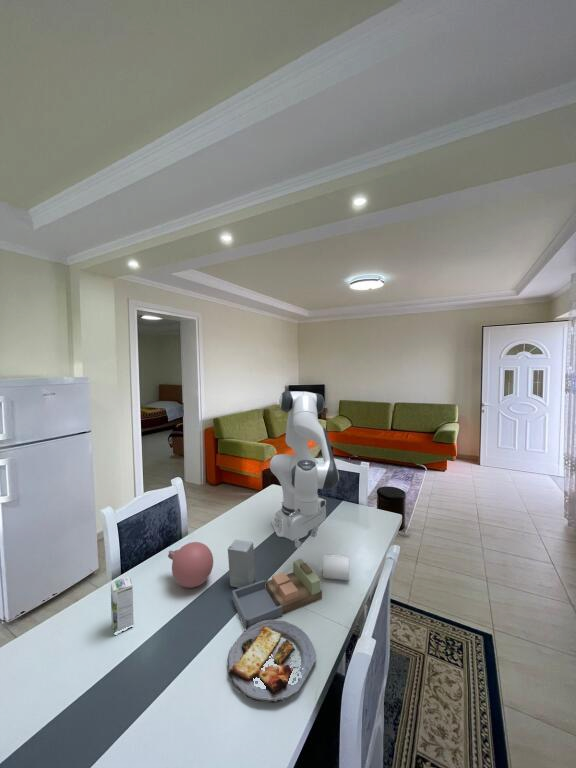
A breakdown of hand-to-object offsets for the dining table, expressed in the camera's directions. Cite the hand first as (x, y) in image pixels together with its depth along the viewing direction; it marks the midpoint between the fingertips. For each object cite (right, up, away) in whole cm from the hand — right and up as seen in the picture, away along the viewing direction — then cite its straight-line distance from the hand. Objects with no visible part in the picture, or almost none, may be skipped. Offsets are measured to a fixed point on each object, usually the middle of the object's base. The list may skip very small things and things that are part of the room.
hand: (306, 541), depth 118 cm
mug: (+13, -18, +10) cm, 25 cm away
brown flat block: (-5, -19, -1) cm, 20 cm away
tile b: (-7, -16, -6) cm, 18 cm away
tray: (-18, -19, -8) cm, 28 cm away
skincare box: (-25, -19, +4) cm, 31 cm away
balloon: (-46, -19, +6) cm, 50 cm away
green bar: (0, -16, +1) cm, 16 cm away
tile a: (-9, -16, 0) cm, 18 cm away
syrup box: (-61, -20, -15) cm, 66 cm away
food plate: (-12, -21, -27) cm, 37 cm away
